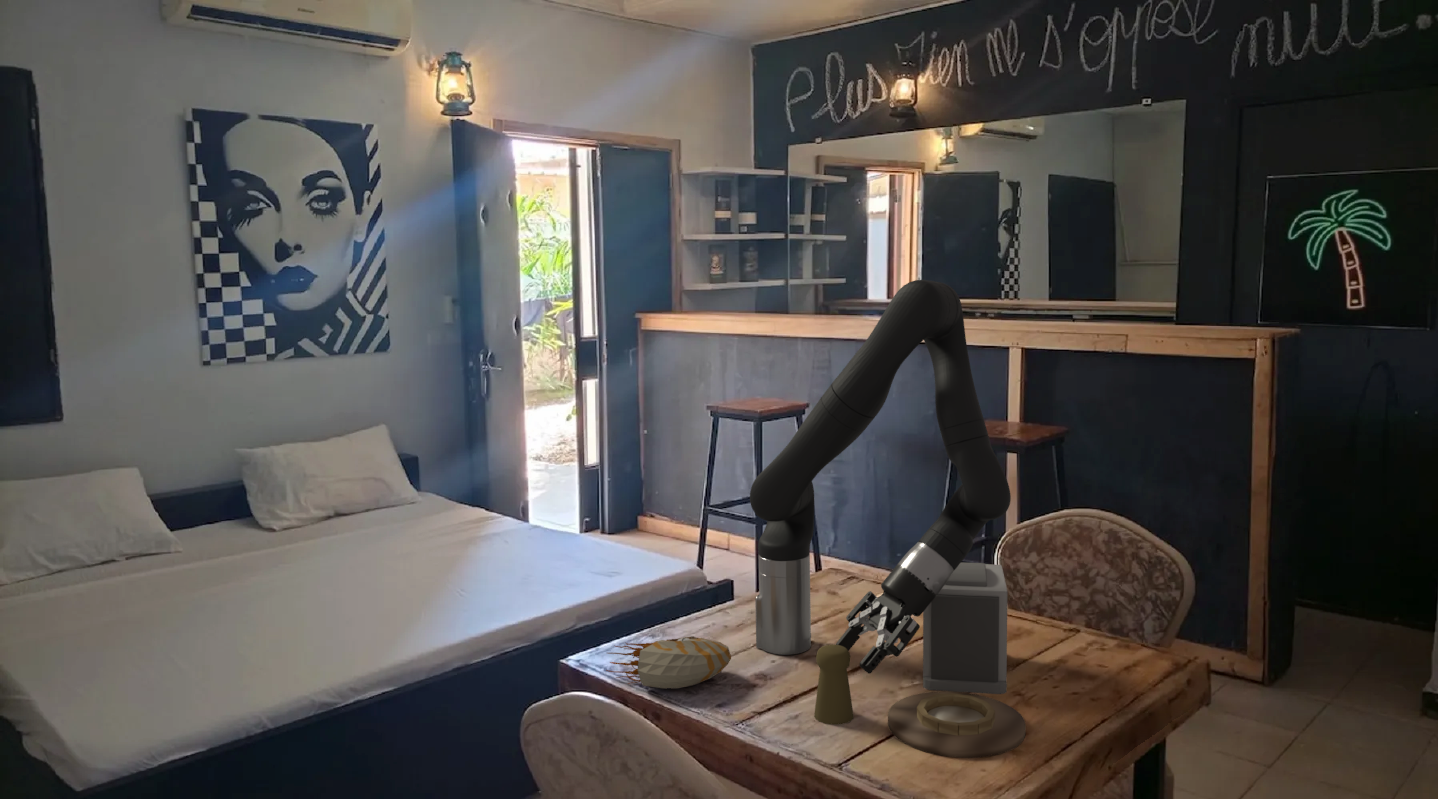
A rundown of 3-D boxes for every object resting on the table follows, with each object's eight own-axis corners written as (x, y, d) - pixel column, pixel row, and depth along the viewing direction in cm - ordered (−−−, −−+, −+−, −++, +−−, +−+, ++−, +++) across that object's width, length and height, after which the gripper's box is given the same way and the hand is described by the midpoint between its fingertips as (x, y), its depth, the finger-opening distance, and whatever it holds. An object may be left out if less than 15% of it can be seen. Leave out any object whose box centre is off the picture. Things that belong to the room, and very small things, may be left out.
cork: (857, 710, 161) (856, 642, 159) (849, 726, 155) (848, 656, 154) (819, 705, 163) (818, 638, 161) (809, 721, 157) (809, 652, 156)
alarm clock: (1007, 694, 165) (1008, 583, 163) (923, 689, 168) (923, 580, 166) (999, 652, 183) (1000, 551, 181) (923, 648, 186) (923, 549, 184)
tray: (872, 744, 149) (872, 726, 149) (905, 691, 168) (905, 675, 167) (1015, 767, 141) (1015, 749, 141) (1033, 709, 159) (1033, 692, 159)
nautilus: (590, 694, 171) (630, 665, 185) (710, 703, 163) (743, 672, 177) (586, 646, 170) (627, 621, 184) (707, 653, 162) (740, 627, 176)
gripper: (880, 552, 166) (816, 630, 164) (925, 576, 153) (856, 662, 151) (910, 580, 169) (847, 658, 167) (957, 606, 155) (889, 691, 153)
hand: (851, 660), depth 159 cm, fingers open, 8 cm apart
